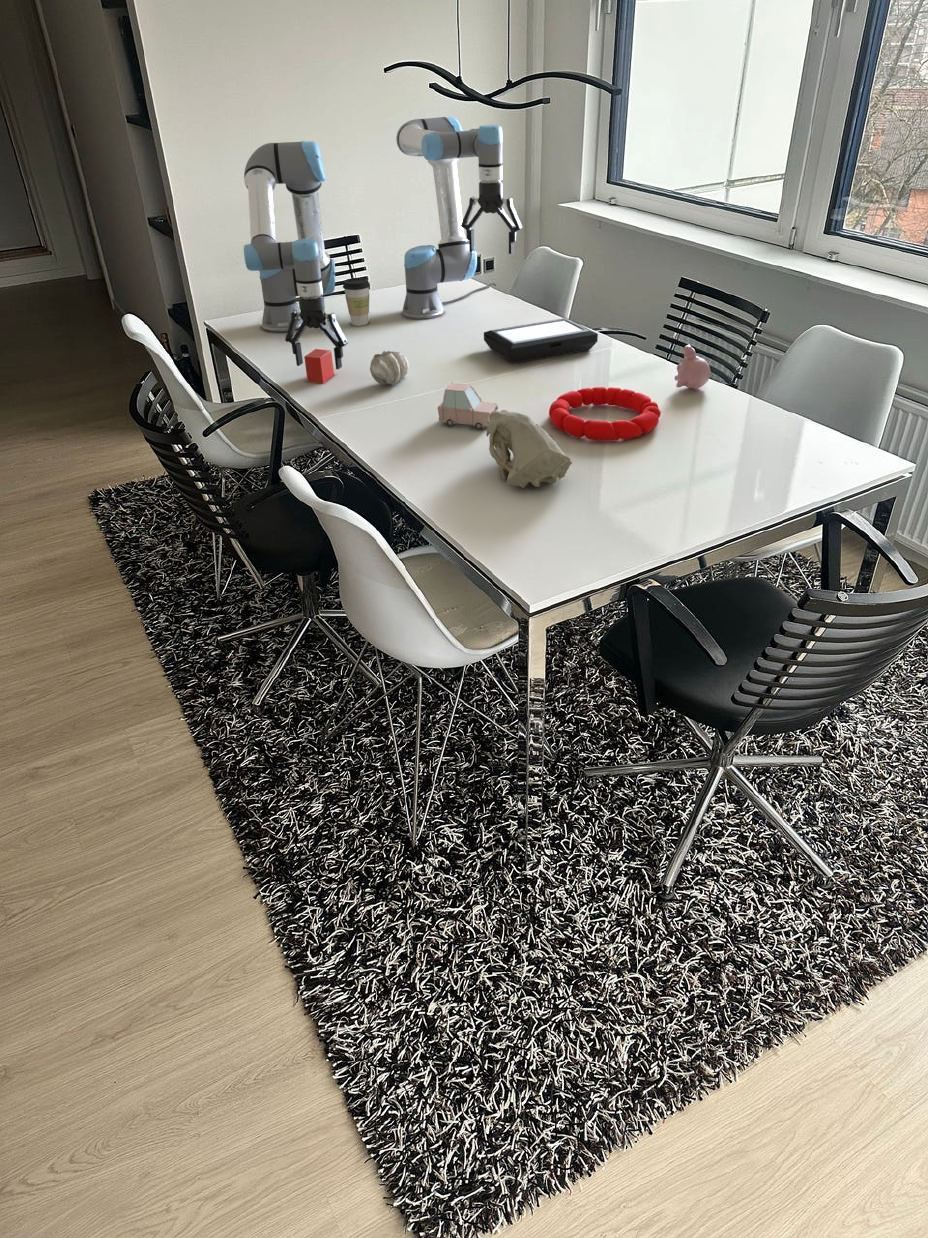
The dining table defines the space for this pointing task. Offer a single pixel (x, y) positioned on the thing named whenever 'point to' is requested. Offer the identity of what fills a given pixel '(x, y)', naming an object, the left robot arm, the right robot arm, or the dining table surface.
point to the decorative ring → (604, 428)
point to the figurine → (692, 370)
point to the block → (319, 366)
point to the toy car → (465, 406)
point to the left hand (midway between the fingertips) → (319, 366)
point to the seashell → (389, 367)
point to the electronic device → (540, 340)
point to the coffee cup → (357, 300)
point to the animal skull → (525, 450)
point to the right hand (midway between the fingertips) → (491, 251)
